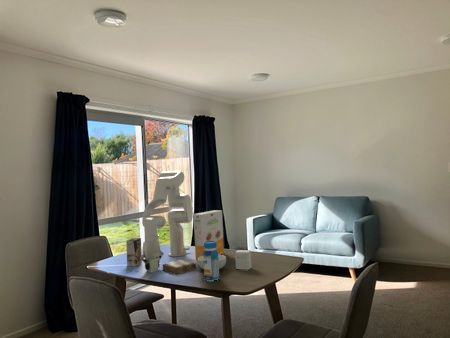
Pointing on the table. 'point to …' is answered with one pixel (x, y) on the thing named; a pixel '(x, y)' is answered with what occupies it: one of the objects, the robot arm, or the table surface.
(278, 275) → the table surface
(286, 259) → the table surface
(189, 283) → the table surface
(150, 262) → the block
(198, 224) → the cereal box
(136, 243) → the coffee box
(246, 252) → the small box
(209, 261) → the beverage bottle
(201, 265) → the cereal bowl
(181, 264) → the base
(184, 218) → the robot arm
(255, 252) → the table surface
